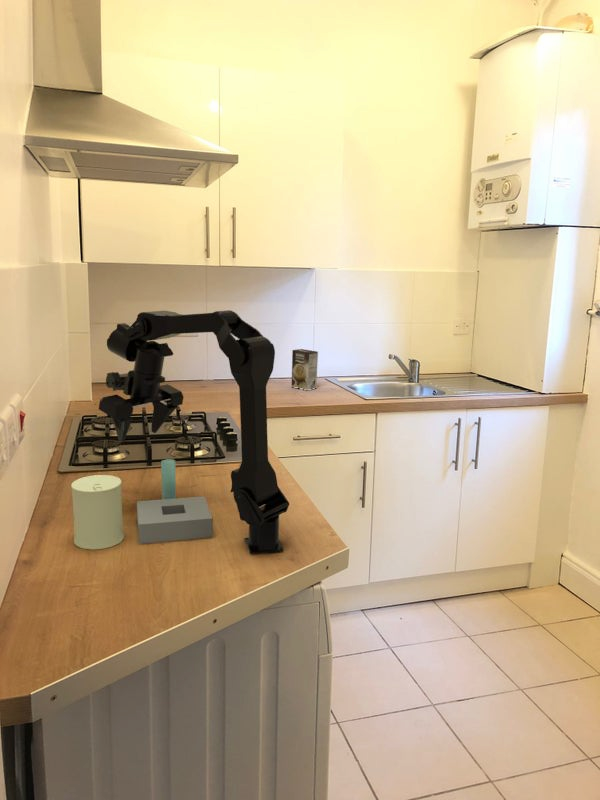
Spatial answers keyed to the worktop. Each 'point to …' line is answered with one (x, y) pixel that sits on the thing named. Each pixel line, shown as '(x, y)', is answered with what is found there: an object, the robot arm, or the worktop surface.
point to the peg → (168, 479)
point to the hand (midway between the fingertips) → (137, 436)
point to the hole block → (173, 520)
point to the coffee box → (304, 368)
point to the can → (97, 511)
